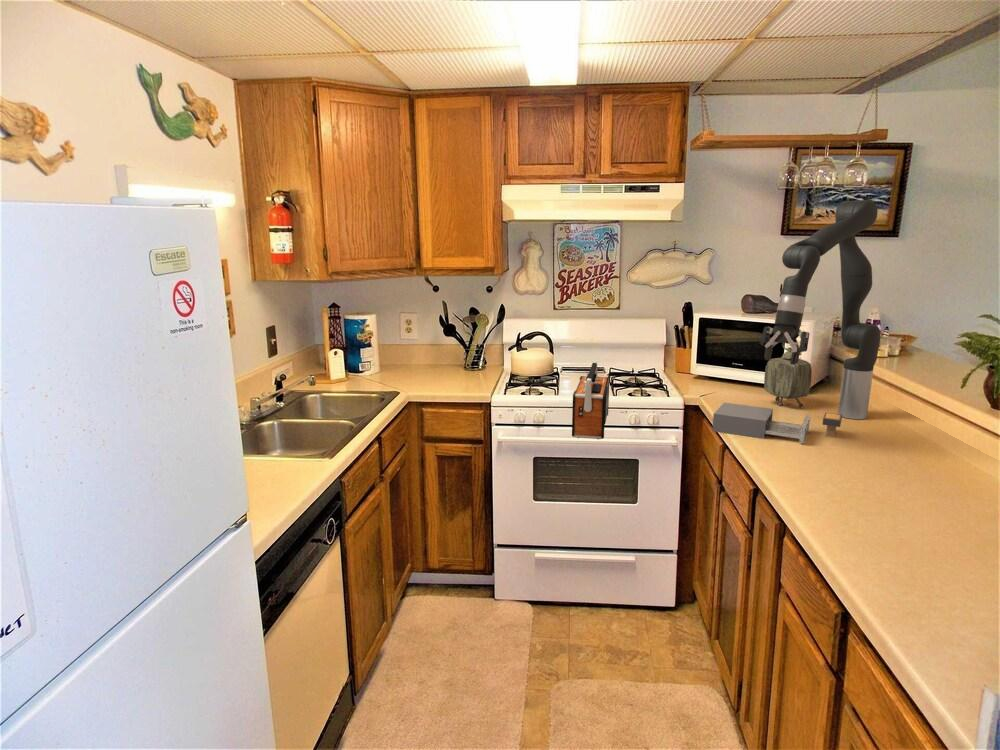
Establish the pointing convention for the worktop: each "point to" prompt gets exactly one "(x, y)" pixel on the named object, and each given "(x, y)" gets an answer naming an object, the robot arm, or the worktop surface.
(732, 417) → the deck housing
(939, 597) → the worktop surface
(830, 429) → the brown rectangular block
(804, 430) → the tray
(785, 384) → the tabletop clock
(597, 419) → the radio cassette player
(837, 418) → the block
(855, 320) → the robot arm
